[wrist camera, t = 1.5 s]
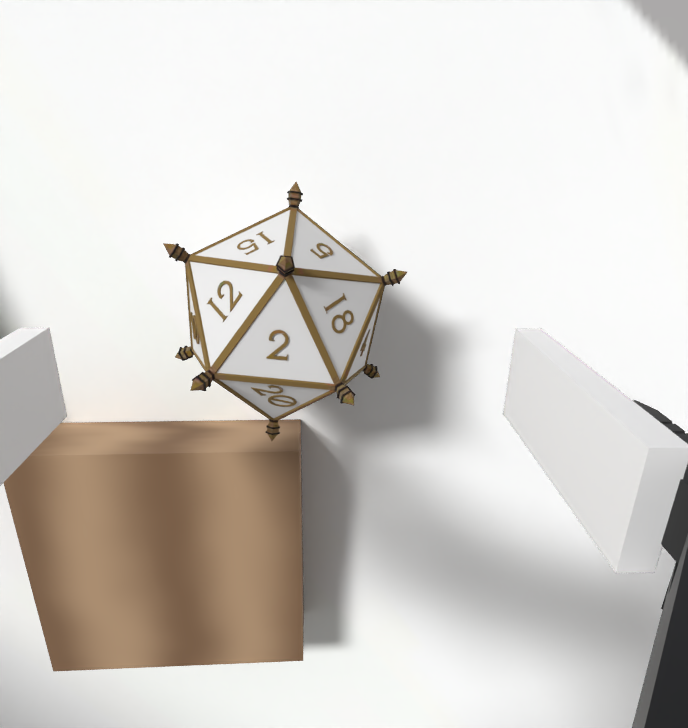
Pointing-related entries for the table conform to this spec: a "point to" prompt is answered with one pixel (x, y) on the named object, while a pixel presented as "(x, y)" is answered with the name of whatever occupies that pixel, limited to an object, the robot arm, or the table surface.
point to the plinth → (164, 542)
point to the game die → (281, 313)
